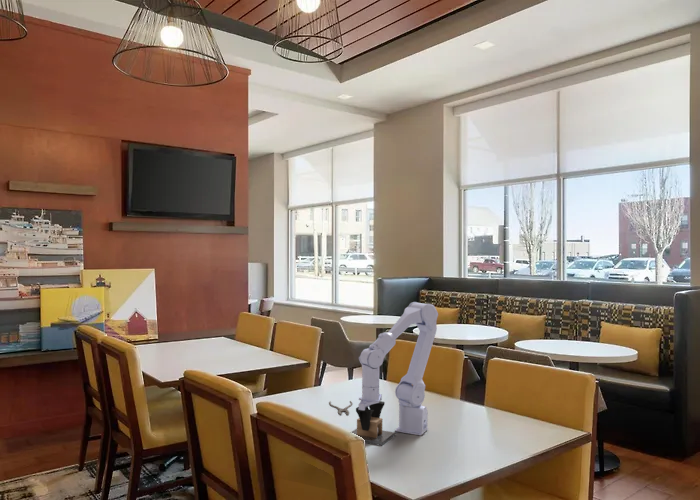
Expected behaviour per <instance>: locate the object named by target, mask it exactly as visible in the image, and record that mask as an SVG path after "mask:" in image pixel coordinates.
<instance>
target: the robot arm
mask: <svg viewBox="0 0 700 500" xmlns="http://www.w3.org/2000/svg"><path fill="white" fill-rule="evenodd" d="M438 317H439V312H438V310H437V308H436V306H435V305H434V304H432V303H424V302H422V303H421V302H417V301H413V302H410V303H409V305H408V306H407V307H405V308H404V310H403V314H401V315H400V317H399V318H398V319H397V321H396V322H395V323H394V324H393V326H392V327H391V328H390V329H389V330H388V331H387V332H385V331H384V332H381V333H379V334H378V337H377V338H376V340H375V341H374V342H372V343H371V344H370V345H369V346H368V348H364V349H363V350H362V351H361V353H360V355H359V356H358V360H359V363H360V364H361V369H362V370H361V374H362V375H361V376H362V377H361V392H362V393H361V396H360V397H358V400H359V401H360V402H359V403H358V406H357V407H356V408H355V412H356V414H357V416H358V419H359V418H360V422H361V426H362V430H366V431H368V430H369V428H370V420H371V417H376V418H381V413H382V410H383V408H384V406H385V401H382V400H383V397H382V396H383V394H381V393H380V367H381V366H382V365H383V362H384V359H385V357H386V355H387V354H388V353H389V352H390V351H391V349H393V348H394V346H396V344H397V343H396V340H397V339H398V338H399V336H401V335H402V334H403V333H404V332H405V331H406V330H407V329H408V328H409V327H410V326H411V325H413V324H415V325H416V327H417V328H418V330H419V333H418V337H417V340H416V343H415V345H414V350H413V353H412V356H411V359H410V362H409V366H408V370H407V372H406V374H405V375H403V376H402V377H401V378H400V382H398V384H397V385H396V387H395V391H394V393H395V397H396V398H397V399H398V403H399V404H398V407H399V410H398V426H397V428H395V429H394V432H397V433H403V434H404V433H405V434H409V435H410V434H411V435H415V436H422V435H423V434H425V432H426V431H428V430H429V427H428V420H429V419H428V416H429V415H428V408H427V406H424V405H422V404H423V402H424V400H425V398H426V397H425V390H426V384H425V382H424V380H423V377H424V374H425V371H426V367H427V364H428V361H429V357H430V354H431V352H432V351H431V350H432V347H433V344H434V340H435V338H436V334H437V320H438Z"/></svg>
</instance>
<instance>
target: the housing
mask: <svg viewBox="0 0 700 500" xmlns="http://www.w3.org/2000/svg"><path fill="white" fill-rule="evenodd" d="M377 427H378V434H382V430H383V418H382V417H380V418H376V417H371V420H370V428H369V430H368V431H366V430H362V426H361V422H360V418H359V417H358V418H357V419H356V429H357V435H362V436H367V437H373V438H377Z"/></svg>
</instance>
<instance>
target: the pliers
mask: <svg viewBox="0 0 700 500" xmlns="http://www.w3.org/2000/svg"><path fill="white" fill-rule="evenodd" d="M349 403H350V404H349V405H348V406H346V407H344V408H341V407H339V406H337V405H334V404H332V401H331V400H330V401H329V402H328V404H329V406H330V407H332V408H335V409H336V410H338V411H337V414H338V415H339V416H342V414H343V413H345V414H346V415H347V416H349V415H350V411H349V410H348V409H349V408H350V407H352V406H353V402H352V400H349Z"/></svg>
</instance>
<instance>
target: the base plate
mask: <svg viewBox="0 0 700 500" xmlns="http://www.w3.org/2000/svg"><path fill="white" fill-rule="evenodd" d="M351 432H352V433H354V434H356V435H357V428H355V429H354V430H352V431H351ZM395 432H396V431H388V430H383V429H382V434H378V427H377V438H373V437H367V436H362V435H358V436H360V437H362V438H363V439H364V440H365V442H366V444H370V443H371V444H370V445H374V446H375V445H376V446H381V445H382V446H383V445H385V444H386V443H387V442H388V441H390V439H392V438H393V437H395V436H396V433H395Z"/></svg>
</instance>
